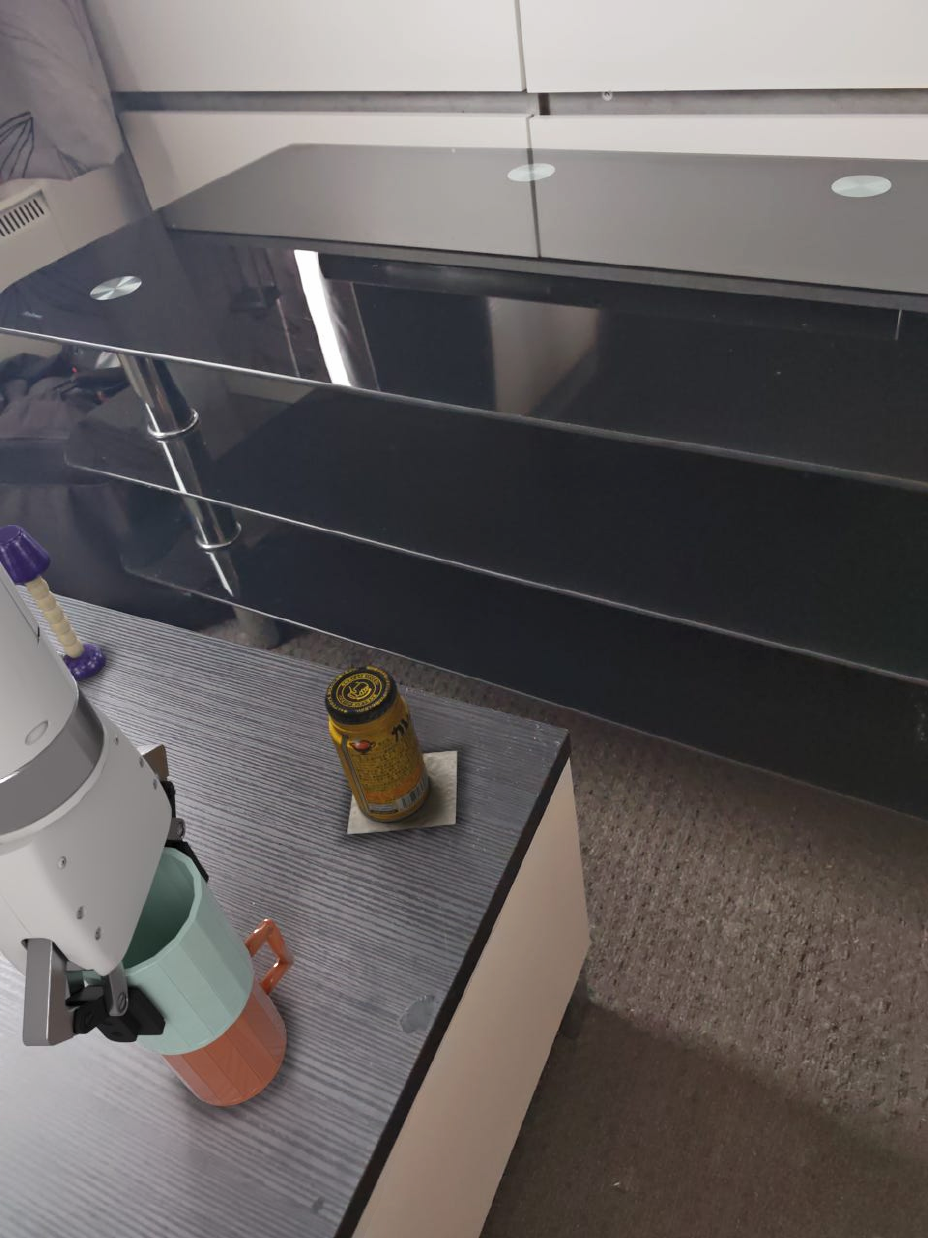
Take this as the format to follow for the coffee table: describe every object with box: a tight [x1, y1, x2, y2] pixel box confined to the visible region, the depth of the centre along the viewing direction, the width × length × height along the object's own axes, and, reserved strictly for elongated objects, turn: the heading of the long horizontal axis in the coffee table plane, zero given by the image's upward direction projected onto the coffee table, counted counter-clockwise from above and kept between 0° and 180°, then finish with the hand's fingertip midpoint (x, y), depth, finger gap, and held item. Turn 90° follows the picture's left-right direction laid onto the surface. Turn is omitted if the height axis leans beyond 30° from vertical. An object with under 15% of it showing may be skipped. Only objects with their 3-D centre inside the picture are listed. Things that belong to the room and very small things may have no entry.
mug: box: [155, 917, 295, 1107], centre depth 58 cm, size 10×7×8 cm
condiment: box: [324, 665, 458, 835], centre depth 69 cm, size 7×8×12 cm
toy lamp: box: [0, 524, 107, 681], centre depth 85 cm, size 5×5×17 cm
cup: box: [82, 847, 255, 1055], centre depth 51 cm, size 8×8×9 cm
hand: (161, 952), depth 51 cm, fingers closed on cup, 7 cm apart
